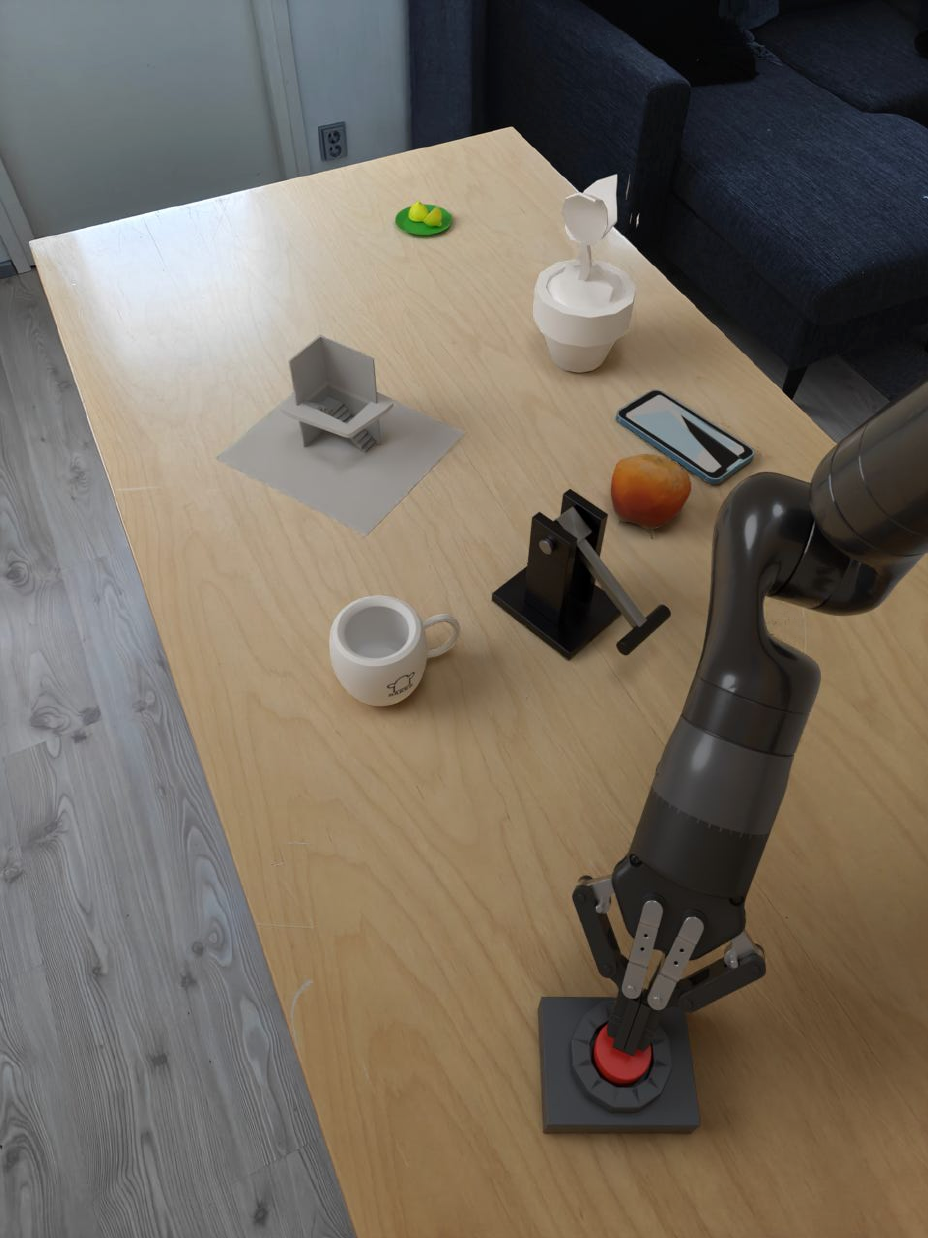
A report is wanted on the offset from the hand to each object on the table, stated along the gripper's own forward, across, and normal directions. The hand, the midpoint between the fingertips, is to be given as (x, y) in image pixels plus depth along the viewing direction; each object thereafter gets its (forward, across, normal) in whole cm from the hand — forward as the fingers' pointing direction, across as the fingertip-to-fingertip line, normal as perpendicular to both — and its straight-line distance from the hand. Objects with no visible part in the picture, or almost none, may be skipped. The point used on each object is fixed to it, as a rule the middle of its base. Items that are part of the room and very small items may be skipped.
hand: (624, 1046), depth 60 cm
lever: (-26, -14, +24) cm, 38 cm away
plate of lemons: (-63, -58, +71) cm, 111 cm away
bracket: (-22, -17, +31) cm, 41 cm away
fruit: (-33, -13, +42) cm, 55 cm away
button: (+2, 0, +2) cm, 3 cm away
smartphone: (-42, -12, +50) cm, 67 cm away
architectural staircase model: (-30, -47, +39) cm, 68 cm away
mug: (-13, -28, +22) cm, 37 cm away
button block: (+5, 0, +5) cm, 7 cm away
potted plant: (-49, -28, +57) cm, 80 cm away
